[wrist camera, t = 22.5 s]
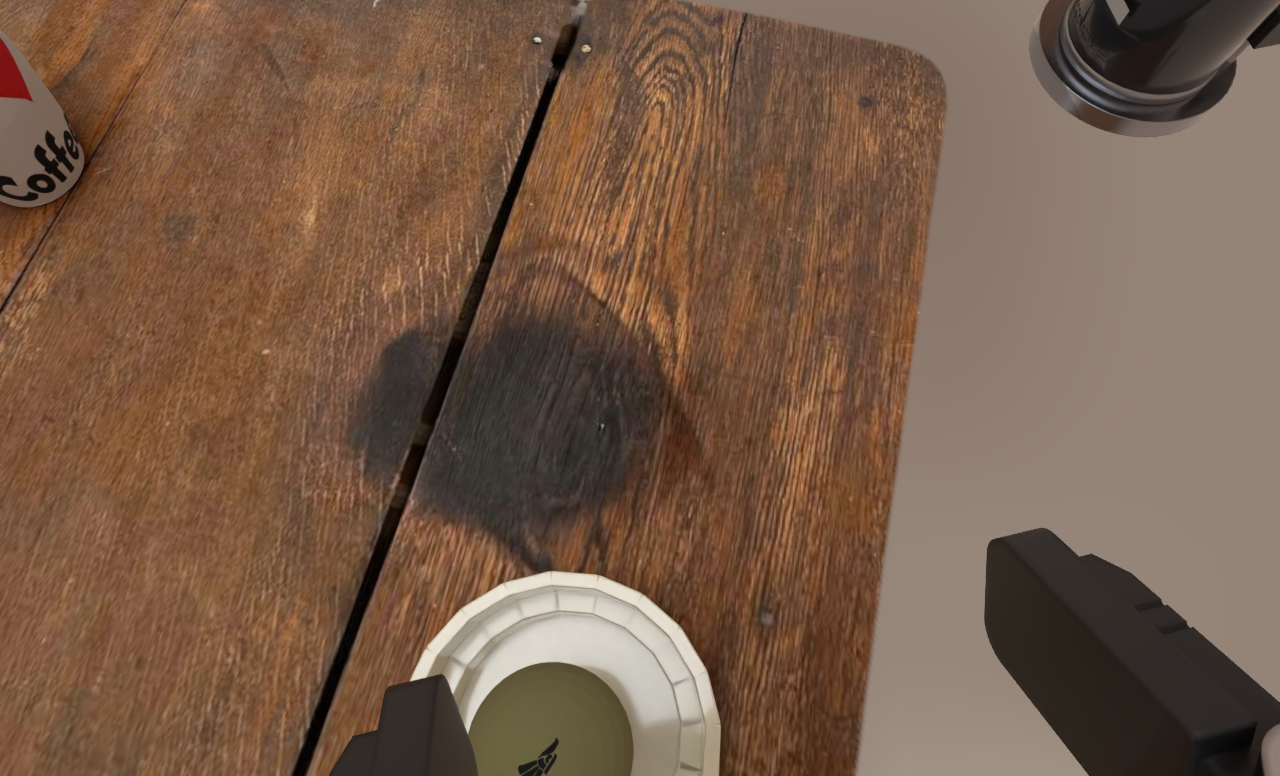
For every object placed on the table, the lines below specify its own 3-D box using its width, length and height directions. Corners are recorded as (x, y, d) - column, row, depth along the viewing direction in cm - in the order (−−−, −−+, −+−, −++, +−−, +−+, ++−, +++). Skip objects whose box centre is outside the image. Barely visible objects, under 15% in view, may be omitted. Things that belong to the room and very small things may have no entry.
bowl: (671, 556, 36) (674, 540, 32) (744, 850, 32) (760, 877, 28) (407, 620, 35) (375, 613, 31) (448, 931, 31) (417, 973, 27)
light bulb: (604, 832, 31) (586, 900, 22) (480, 774, 32) (412, 816, 23) (655, 695, 33) (660, 704, 24) (537, 643, 34) (496, 631, 25)
